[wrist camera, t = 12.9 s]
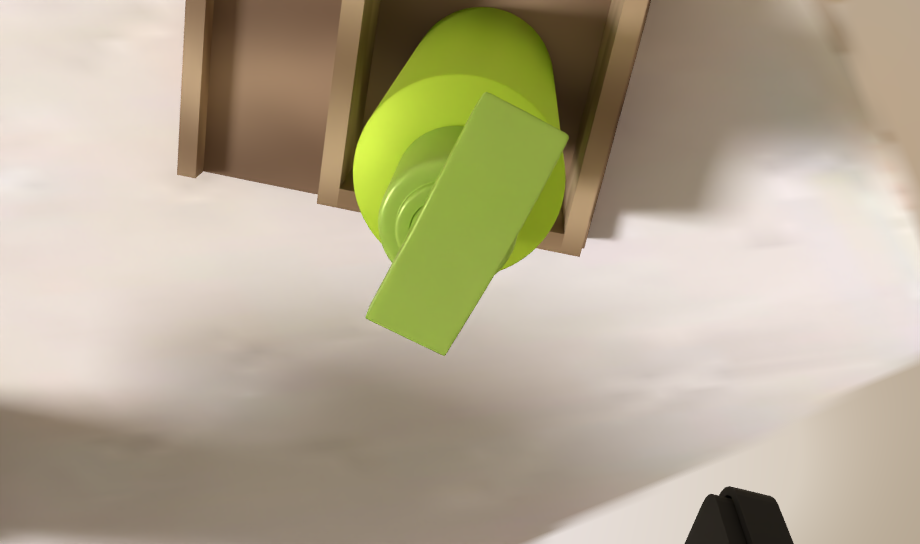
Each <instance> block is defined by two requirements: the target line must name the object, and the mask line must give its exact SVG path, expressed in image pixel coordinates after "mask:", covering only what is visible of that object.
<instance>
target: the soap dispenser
mask: <svg viewBox="0 0 920 544" xmlns="http://www.w3.org/2000/svg"><path fill="white" fill-rule="evenodd" d="M568 139H569V136H568V135H567V134H566V133H565V132H563V131H561V130H560V123H559V115H558V107H557V99H556V91H555V83H554V75H553V67H552V62H551V59H550V55H549V53H548V50H547V48H546V46H545V44H544V42H543V41H542V39H541V38H540V36H539V35H538V34H537V33H536V31H535V30H534V29H533V28H532V27H531V26H530V25H529V24H527V23H526V22H525V21H524V20H522V19H521V18H519V17H517V16H516V15H514V14H512V13H509V12H507V11H504V10H501V9H497V8H491V7H473V8H467V9H463V10H459V11H457V12H454V13H452V14H450V15H448V16H446V17H445V18H443V19H441V20H440V21H439V22H437V23H436V24H435V25H434V26H433V27H432V28H431V29H430V30H429V31H428V32H427V33H426V35H425V36H424V37H423V39H422V40H421V42H420V43H419V45H418V46H417V48H416V49H415V51H414V52H413V54H412V55H411V57H410V58H409V60H408V61H407V63H406V64H405V66H404V67H403V69H402V70H401V72H400V73H399V75H398V76H397V78H396V79H395V81H394V82H393V84H392V85H391V87H390V88H389V90H388V91H387V93H386V94H385V96H384V97H383V99H382V100H381V102H380V103H379V105H378V107H377V108H376V110H375V111H374V113H373V114H372V116H371V117H370V119H369V120H368V122H367V123H366V125H365V127H364V129H363V131H362V133H361V135H360V138H359V140H358V143H357V147H356V151H355V155H354V162H353V184H354V191H355V196H356V200H357V203H358V206H359V209H360V211H361V214H362V216H363V218H364V220H365V222H366V223H367V225H368V227H369V228H370V230H371V231H372V233H373V234H374V235H375V237H376V238H377V239H378V240H379V241H380V242H381V243H382V246H383V248H384V250H385V252H386V254H387V256H388V258H389V259H390V261H391V262H392V265H391V267H390V268H389V270H388V272H387V274H386V276H385V278H384V280H383V282H382V283H381V285H380V287H379V289H378V291H377V293H376V295H375V297H374V298H373V300H372V302H371V304H370V306H369V309H368V312H367V314H366V319H368V320H370V321H372V322H374V323H376V324H378V325H380V326H382V327H385V328H387V329H389V330H391V331H393V332H395V333H397V334H399V335H401V336H403V337H405V338H407V339H410V340H412V341H414V342H416V343H418V344H420V345H422V346H424V347H426V348H428V349H430V350H432V351H435V352H437V353H439V354H441V355H443V356H445V355H446V353H447V352H448V350H449V348H450V347H451V345H452V344H453V342H454V340H455V339H456V337H457V336H458V334H459V332H460V331H461V329H462V327H463V326H464V324H465V323H466V321H467V319H468V318H469V316H470V314H471V313H472V311H473V309H474V308H475V306H476V305H477V303H478V301H479V300H480V298H481V296H482V295H483V293H484V291H485V290H486V288H487V286H488V285H489V283H490V281H491V280H492V278H493V276H494V275H495V274H496V273H497V272H498V271H500V270H503V269H505V268H507V267H510V266H512V265H513V264H515V263H517V262H518V261H520V260H522V259H523V258H524V257H526V256H527V255H528V254H530V253H531V252H532V251H533V250H534V249H535V248H536V247H537V246H538V245H539V244H540V243H541V242H542V241H543V240H544V238H545V237H546V236H547V234H548V233H549V231H550V230H551V228H552V226H553V225H554V223H555V221H556V219H557V217H558V214H559V212H560V209H561V205H562V202H563V197H564V192H565V163H564V155H563V150H564V148H565V146H566V144H567V142H568Z"/></svg>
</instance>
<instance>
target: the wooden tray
mask: <svg viewBox="0 0 920 544" xmlns="http://www.w3.org/2000/svg"><path fill="white" fill-rule="evenodd" d="M650 3H651V0H186V6H185V26H184V46H183V67H182V87H181V107H180V127H179V147H178V167H177V175H182V176H187V177H192V178H196V177H197V176H198V175H200V174H201V173H202V172H203V171H205V172H210V173H215V174H220V175H225V176H230V177H235V178H239V179H244V180H249V181H254V182H259V183H264V184H269V185H274V186H279V187H284V188H289V189H294V190H299V191H303V192H308V193H313V194H318V198H317V204H322V205H327V206H332V207H337V208H342V209H346V210H351V211H356V212H361V211H360V209H359V206H358V203H357V200H356V196H355V191H354V184H353V162H354V155H355V151H356V147H357V143H358V140H359V138H360V135H361V133H362V131H363V129H364V127H365V125H366V123H367V122H368V120H369V119H370V117H371V116H372V114H373V113H374V111H375V110H376V108H377V107H378V105H379V103H380V102H381V100H382V99H383V97H384V96H385V94H386V93H387V91H388V90H389V88H390V87H391V85H392V84H393V82H394V81H395V79H396V78H397V76H398V75H399V73H400V72H401V70H402V69H403V67H404V66H405V64H406V63H407V61H408V60H409V58H410V57H411V55H412V54H413V52H414V51H415V49H416V48H417V46H418V45H419V43H420V42H421V40H422V39H423V37H424V36H425V35H426V33H427V32H428V31H429V30H430V29H431V28H432V27H433V26H434V25H435V24H436V23H437V22H439V21H440V20H441V19H443V18H445V17H446V16H448V15H450V14H452V13H454V12H457V11H459V10H463V9H467V8H473V7H491V8H497V9H501V10H504V11H507V12H509V13H512V14H514V15H516V16H517V17H519V18H521V19H522V20H524V21H525V22H526V23H527V24H529V25H530V26H531V27H532V28H533V29H534V30H535V31H536V33H537V34H538V35H539V36H540V38H541V39H542V41H543V42H544V44H545V46H546V48H547V50H548V53H549V55H550V59H551V62H552V67H553V75H554V83H555V91H556V99H557V107H558V115H559V123H560V130H561V131H563V132H565V133H566V134H567V135H568V136H569V139H568V142H567V144H566V146H565V148H564V150H563V155H564V163H565V192H564V197H563V202H562V205H561V209H560V212H559V214H558V217H557V219H556V221H555V223H554V225H553V226H552V228H551V230H550V231H549V233H548V234H547V236H546V237H545V238H544V240H543V241H542V242H541V243H540V244H539V245H538V246H537V247H536V248H539V249H543V250H548V251H553V252H558V253H563V254H568V255H573V256H578V257H580V253H581V249H582V248H584V247H585V243H586V239H587V236H588V232H589V228H590V224H591V221H592V217H593V213H594V210H595V206H596V202H597V199H598V195H599V191H600V188H601V184H602V180H603V176H604V173H605V169H606V165H607V162H608V158H609V154H610V151H611V147H612V143H613V139H614V136H615V132H616V128H617V125H618V121H619V117H620V114H621V110H622V106H623V103H624V99H625V95H626V91H627V88H628V84H629V80H630V77H631V73H632V69H633V66H634V62H635V58H636V54H637V51H638V47H639V43H640V40H641V36H642V32H643V29H644V25H645V21H646V17H647V14H648V10H649V6H650Z"/></svg>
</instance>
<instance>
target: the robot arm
mask: <svg viewBox="0 0 920 544" xmlns="http://www.w3.org/2000/svg"><path fill="white" fill-rule="evenodd" d="M685 544H794V543H793V541H792V538H791V536H790V533H789V531H788V528H787V526H786V523H785V521H784V518H783V516H782V513H781V511H780V509H779V506H778V504H777V502H776V500H775V499H774V498H773V497H771V496H767V495H763V494H759V493H755V492H751V491H747V490H743V489H738V488H734V487H730V486H729V487H726V488H724V489H723V491H722V492H721V493H720V495H719V496H718V495H714V494H710V495H708V496H707V497H706V498H705V500H704V502H703V504H702V506H701V508H700V510H699V513H698V515H697V517H696V519H695V522H694V524H693V526H692V529H691V531H690V533H689V535H688V537H687V540H686V542H685Z"/></svg>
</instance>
